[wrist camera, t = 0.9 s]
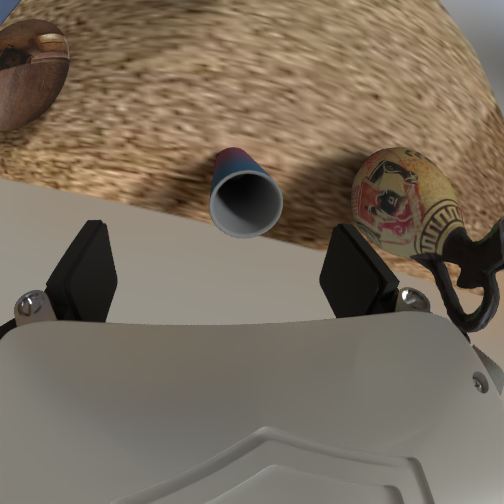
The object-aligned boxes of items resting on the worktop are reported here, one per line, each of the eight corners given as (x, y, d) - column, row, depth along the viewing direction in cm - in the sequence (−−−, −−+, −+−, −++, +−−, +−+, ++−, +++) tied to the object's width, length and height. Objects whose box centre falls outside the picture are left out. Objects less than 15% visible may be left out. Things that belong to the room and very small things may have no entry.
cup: (208, 187, 39) (210, 240, 26) (208, 141, 35) (208, 171, 22) (255, 186, 40) (279, 237, 27) (257, 141, 36) (286, 170, 23)
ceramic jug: (349, 124, 36) (526, 211, 11) (418, 153, 40) (555, 241, 15) (317, 222, 44) (418, 376, 20) (386, 235, 48) (485, 352, 23)
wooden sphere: (8, 125, 26) (-53, 151, 13) (18, 38, 18) (-42, 36, 6) (80, 116, 29) (21, 137, 17) (96, 20, 21) (43, -5, 9)
